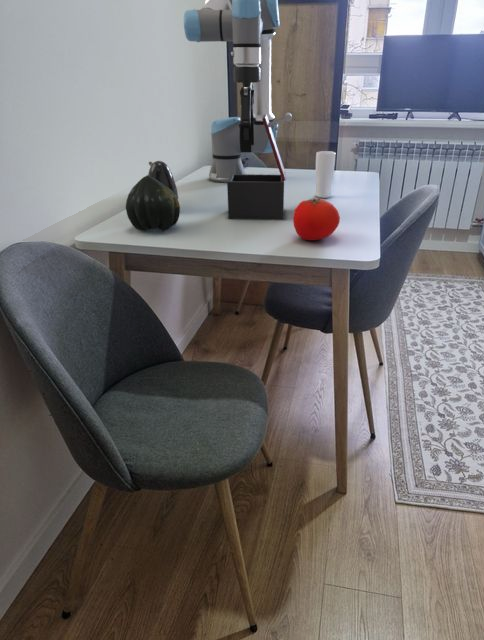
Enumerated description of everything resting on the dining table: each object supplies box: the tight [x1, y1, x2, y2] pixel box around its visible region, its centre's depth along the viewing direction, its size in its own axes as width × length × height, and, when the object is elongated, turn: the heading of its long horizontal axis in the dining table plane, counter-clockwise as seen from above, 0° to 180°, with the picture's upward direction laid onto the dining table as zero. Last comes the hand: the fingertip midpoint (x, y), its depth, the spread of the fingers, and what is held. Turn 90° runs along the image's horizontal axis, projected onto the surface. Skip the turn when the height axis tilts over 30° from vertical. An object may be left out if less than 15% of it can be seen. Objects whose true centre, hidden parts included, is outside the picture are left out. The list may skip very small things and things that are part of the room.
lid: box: [262, 112, 293, 182], centre depth 141 cm, size 18×12×8 cm
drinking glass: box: [315, 150, 336, 199], centre depth 169 cm, size 7×7×15 cm
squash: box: [125, 174, 181, 232], centre depth 136 cm, size 14×15×15 cm
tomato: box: [292, 197, 341, 241], centre depth 127 cm, size 13×12×11 cm
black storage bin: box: [226, 173, 285, 220], centre depth 149 cm, size 17×12×11 cm
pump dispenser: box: [147, 160, 179, 199], centre depth 153 cm, size 10×10×15 cm
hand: (248, 148), depth 142 cm, fingers open, 13 cm apart
